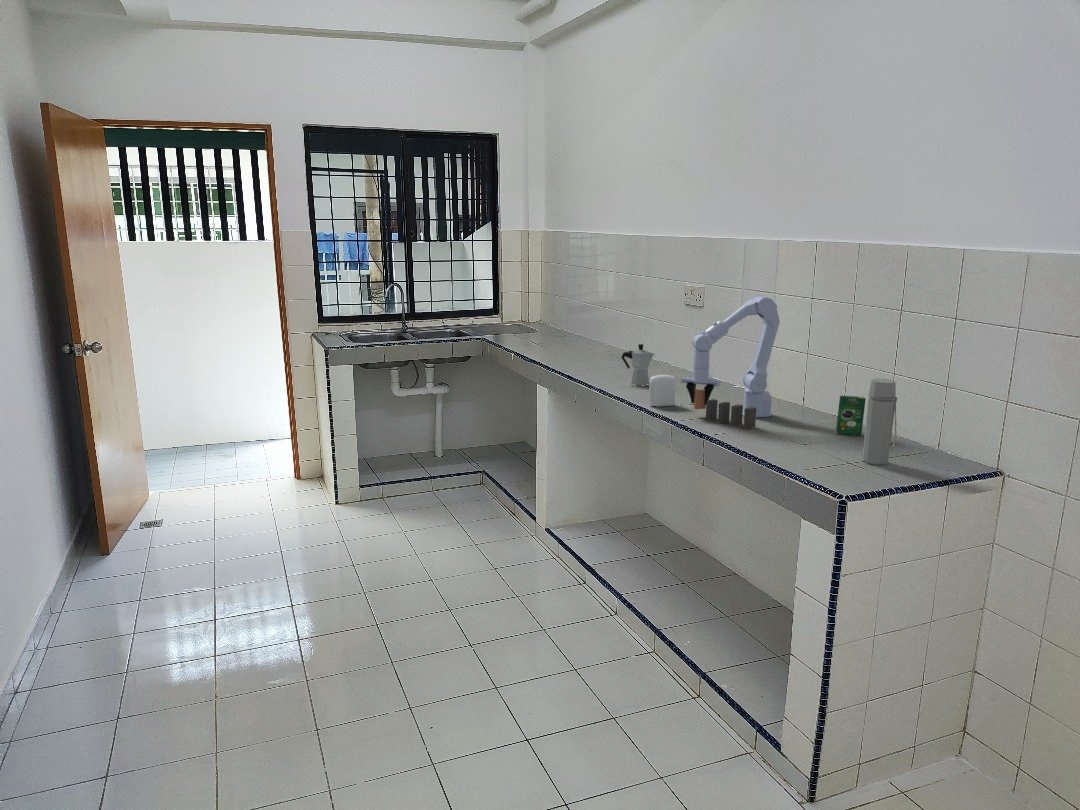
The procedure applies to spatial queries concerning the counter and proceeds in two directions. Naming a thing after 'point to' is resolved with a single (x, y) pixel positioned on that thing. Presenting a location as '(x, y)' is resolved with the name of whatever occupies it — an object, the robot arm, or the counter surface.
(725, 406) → the domino
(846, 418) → the coffee box
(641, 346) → the coffee maker
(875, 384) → the water bottle
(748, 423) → the domino
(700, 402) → the terracotta domino
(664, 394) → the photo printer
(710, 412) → the domino
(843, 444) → the counter surface
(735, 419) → the domino
